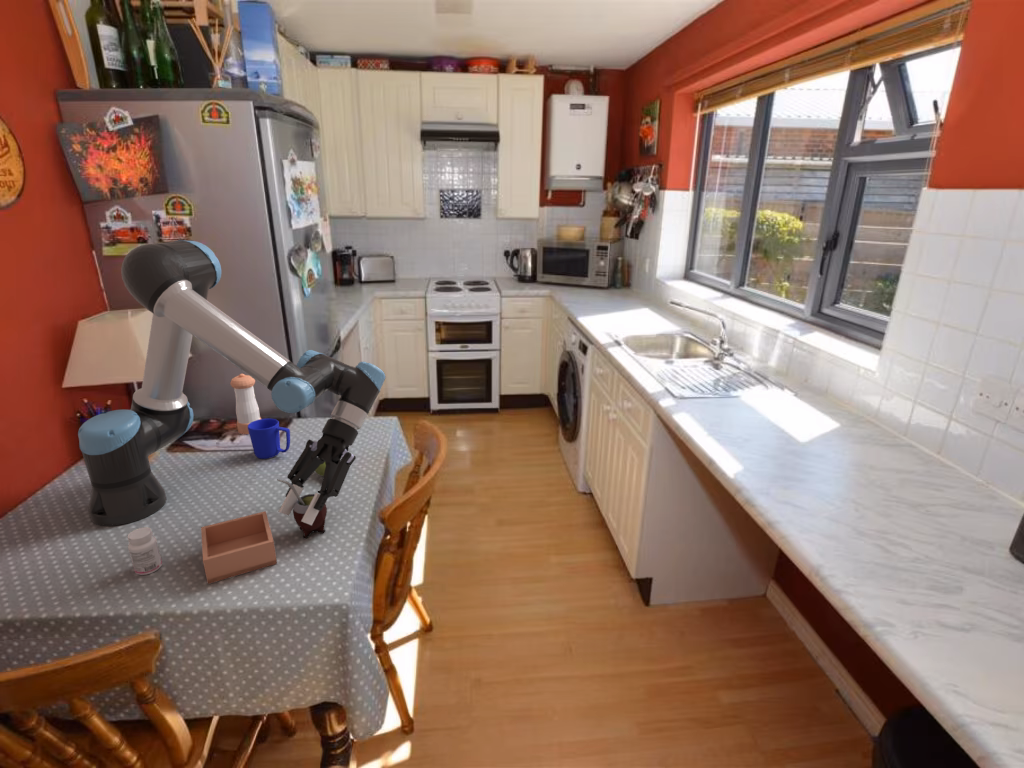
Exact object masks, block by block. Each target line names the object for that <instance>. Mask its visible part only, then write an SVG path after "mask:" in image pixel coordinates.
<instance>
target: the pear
mask: <svg viewBox="0 0 1024 768" xmlns="http://www.w3.org/2000/svg"><path fill="white" fill-rule="evenodd" d="M325 467H326V464H325V462H324V463H323V464H321V465H320V466H319V467H318V468H317V469H316V470H315V471H314V473H316V475H319V476H321V477H323V476H324V472H325Z"/></svg>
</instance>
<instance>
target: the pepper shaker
mask: <svg viewBox="0 0 1024 768" xmlns="http://www.w3.org/2000/svg"><path fill="white" fill-rule="evenodd" d="M255 384H256V380H255V379H254V378H252V377H251V376H249V375H248V374H244V373H239V374H238V375H236V376H234V377H233V378H231V381H230V384H229V385H230V387H232V388H233V391H234V397H235V414H236V419H237V421H236V426H237V427H236V429H237V432H238V434H240V435H250V434H249V431H248V425H249V424H250V423H251V422H253V421H256V420H260V419H262V417H261V415H260V408H259V405H258V401H257V399H256V395H255V388H254V386H255Z"/></svg>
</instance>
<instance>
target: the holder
mask: <svg viewBox="0 0 1024 768" xmlns="http://www.w3.org/2000/svg"><path fill="white" fill-rule="evenodd" d="M200 530H201V531H200V532H201V547H202V548H201V549H202V550H201V551H202V562H203V568H204V573H205V576H206V582H207V585H211V584H213V583H217V582H219V581H222V580H223V581H224V580H227V579H230V578H233V577H236V576H240V575H243V574H247V573H251V572H254V571H257V570H260V569H265V568H267V567H270V566H275V565H277V564H278V561H277V554H276V553H277V552H276V547H275V541H274V538H273V534H272V529H271V526H270V522H269V519H268V514H267V512H266V510H265V511H260V512H257V513H253V514H249V515H245V516H241V517H237V518H233V519H228V520H224V521H221V522H215V523H212V524H209V525H204V526H202V527H200Z"/></svg>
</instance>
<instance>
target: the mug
mask: <svg viewBox="0 0 1024 768" xmlns="http://www.w3.org/2000/svg"><path fill="white" fill-rule="evenodd" d="M248 431H249V434H248V435H249V438H250V441H251V445H252V449H253V454H254V455H255V457H256V458H257V459H260V460H261V459H262V460H266V459H268V460H269V459H271V458H274V457H277V456H278V455H279V454H280V453H286V452H288V450H289V449H290V446H291V429H290V428H288V427H283V426H280V421H279V420H277V418H261V419H260V420H256V421H253V422H251V423H250V424H249V425H248ZM280 431H282V432H285V434H286V437H285V438H286V441H285V442H286V445H285V446H286V447H285V449H282V448H281V439H280V438H281V436H280V434H281V433H280Z"/></svg>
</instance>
